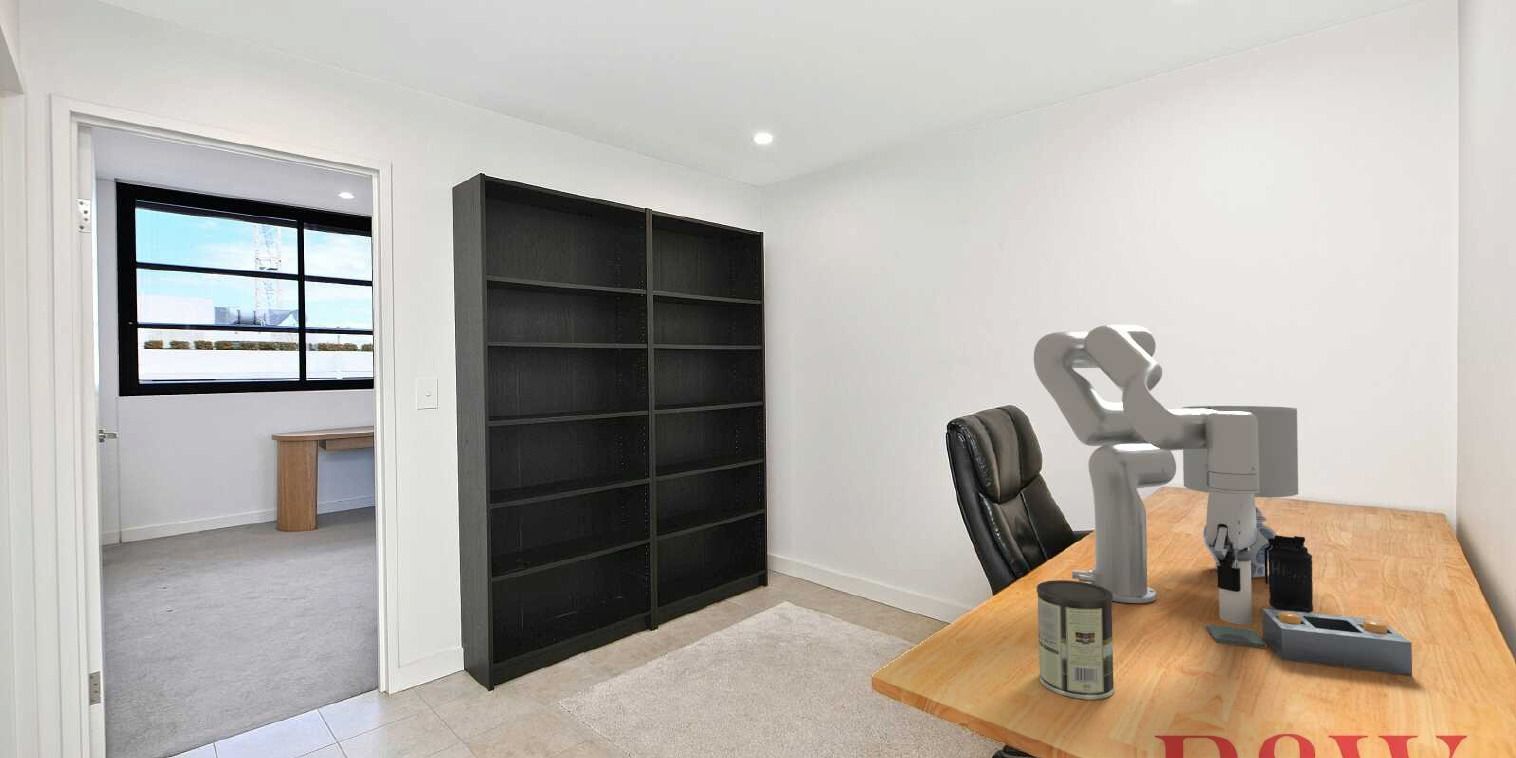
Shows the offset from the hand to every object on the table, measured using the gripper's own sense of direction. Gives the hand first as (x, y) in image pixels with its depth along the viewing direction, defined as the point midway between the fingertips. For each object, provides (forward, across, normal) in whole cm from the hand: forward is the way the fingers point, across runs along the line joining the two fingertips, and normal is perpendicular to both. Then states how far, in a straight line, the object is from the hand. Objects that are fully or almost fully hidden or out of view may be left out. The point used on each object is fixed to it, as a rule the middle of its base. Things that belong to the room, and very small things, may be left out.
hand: (1234, 585), depth 115 cm
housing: (+9, -4, +12) cm, 16 cm away
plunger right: (+8, -6, +17) cm, 20 cm away
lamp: (+9, -46, -13) cm, 48 cm away
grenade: (+9, -21, +2) cm, 23 cm away
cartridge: (+6, 0, 0) cm, 6 cm away
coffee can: (+9, +38, -9) cm, 40 cm away
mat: (+9, 0, 0) cm, 9 cm away
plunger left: (+8, -1, +7) cm, 11 cm away
